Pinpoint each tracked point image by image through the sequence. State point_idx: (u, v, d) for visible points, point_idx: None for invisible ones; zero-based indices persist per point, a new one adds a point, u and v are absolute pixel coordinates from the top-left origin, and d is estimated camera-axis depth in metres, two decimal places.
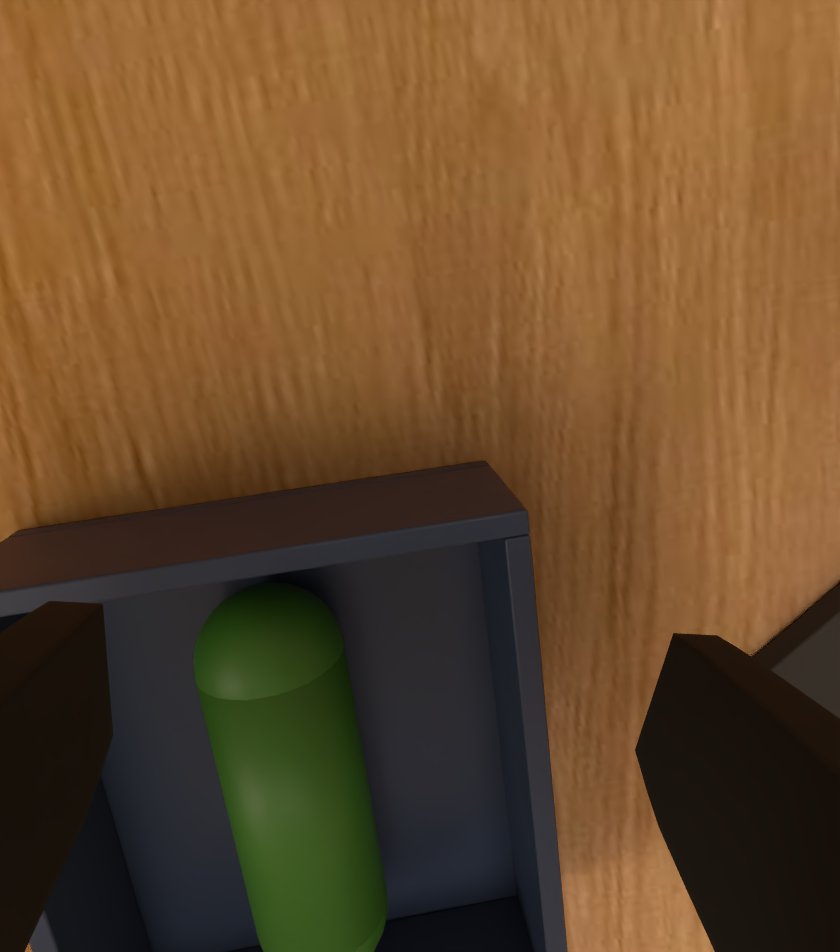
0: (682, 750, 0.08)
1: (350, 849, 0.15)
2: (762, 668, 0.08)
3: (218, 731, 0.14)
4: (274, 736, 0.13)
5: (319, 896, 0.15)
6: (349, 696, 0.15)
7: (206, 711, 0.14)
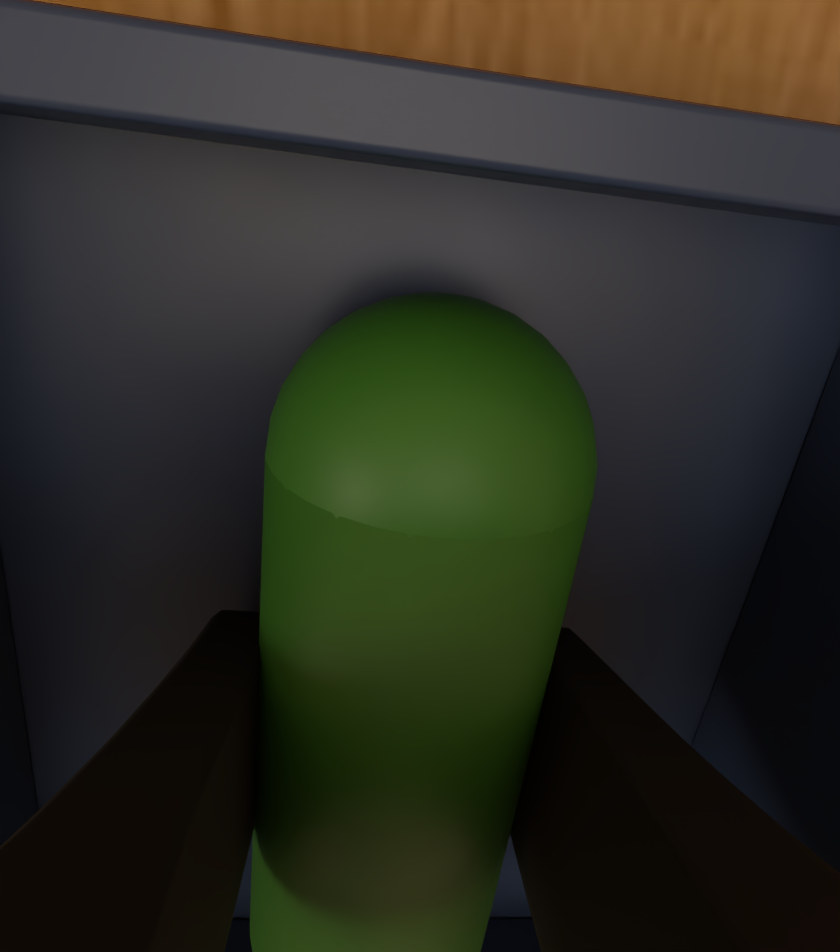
0: None
1: (488, 865, 0.07)
2: (596, 661, 0.08)
3: (307, 591, 0.06)
4: (447, 631, 0.06)
5: (413, 941, 0.07)
6: None
7: (286, 540, 0.06)
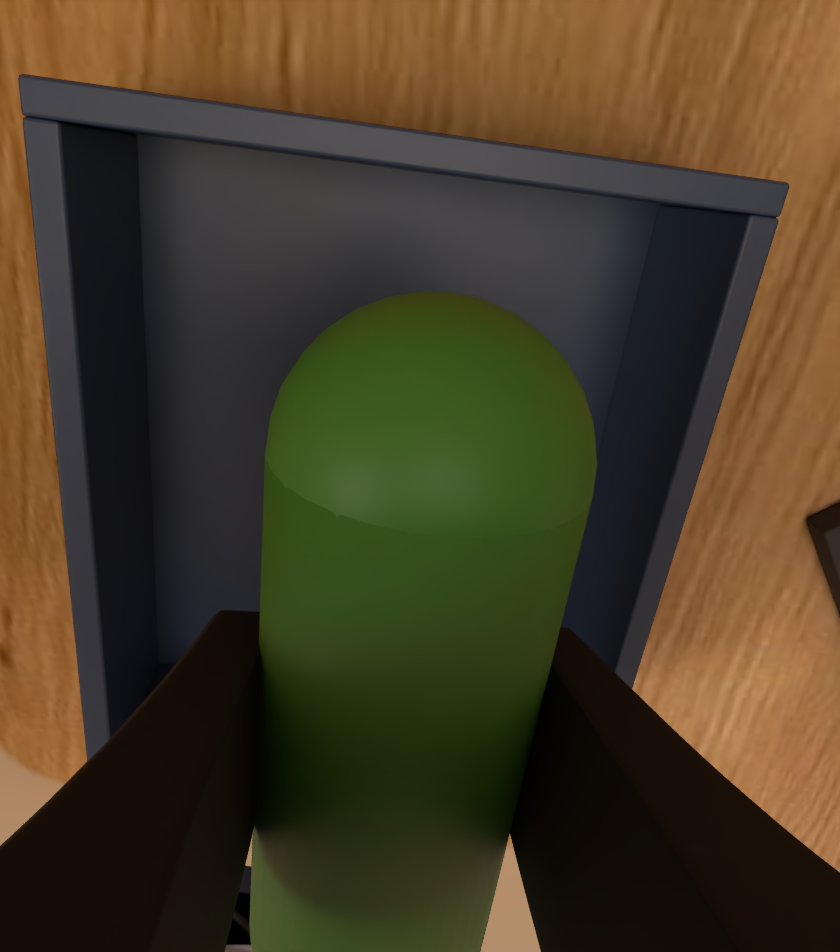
0: None
1: (488, 863, 0.07)
2: (597, 661, 0.08)
3: (307, 589, 0.06)
4: (447, 630, 0.06)
5: (413, 939, 0.07)
6: None
7: (286, 539, 0.06)
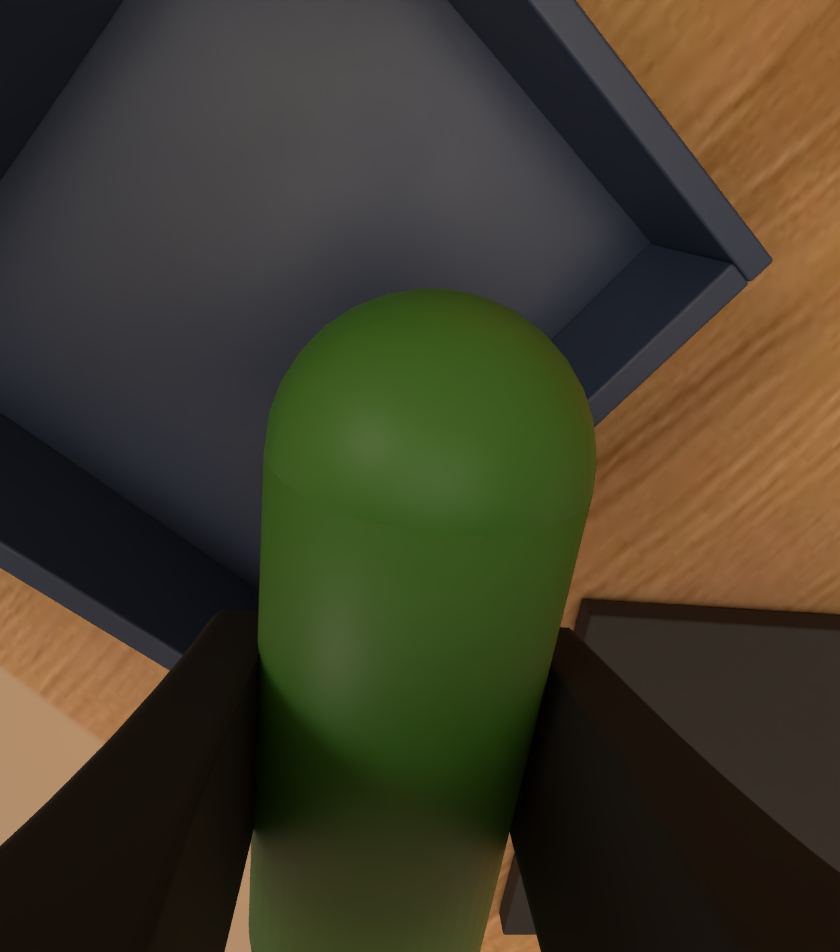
0: None
1: (487, 862, 0.07)
2: (596, 661, 0.08)
3: (305, 587, 0.06)
4: (446, 628, 0.06)
5: (412, 939, 0.07)
6: None
7: (284, 536, 0.06)
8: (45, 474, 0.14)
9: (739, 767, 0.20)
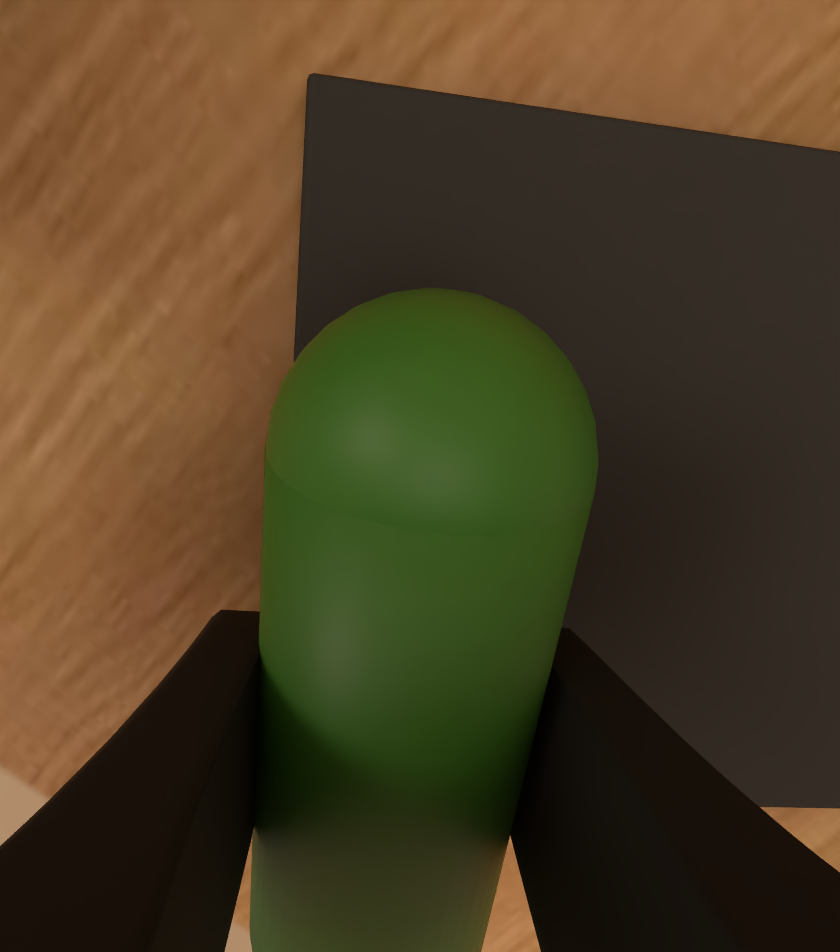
0: None
1: (489, 863, 0.07)
2: (597, 662, 0.08)
3: (307, 587, 0.06)
4: (449, 628, 0.06)
5: (413, 939, 0.07)
6: None
7: (286, 537, 0.06)
8: None
9: (641, 471, 0.11)
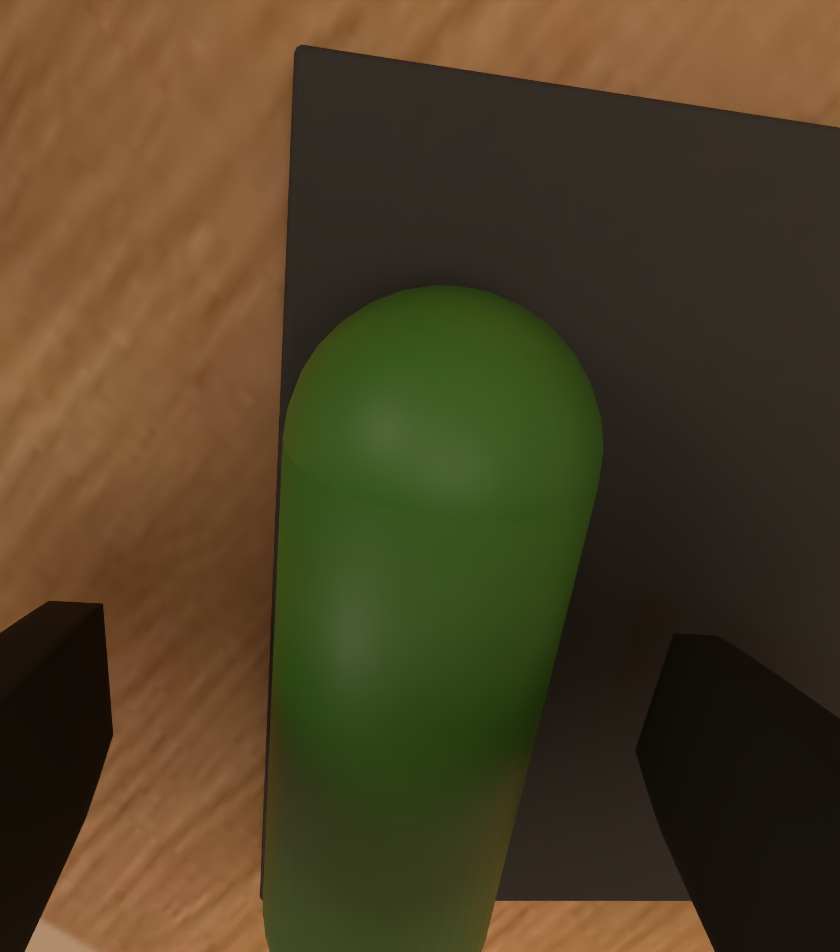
0: (682, 750, 0.08)
1: (502, 834, 0.08)
2: (761, 669, 0.08)
3: (335, 577, 0.06)
4: (474, 610, 0.06)
5: (434, 912, 0.08)
6: None
7: (312, 529, 0.06)
8: None
9: (701, 532, 0.10)
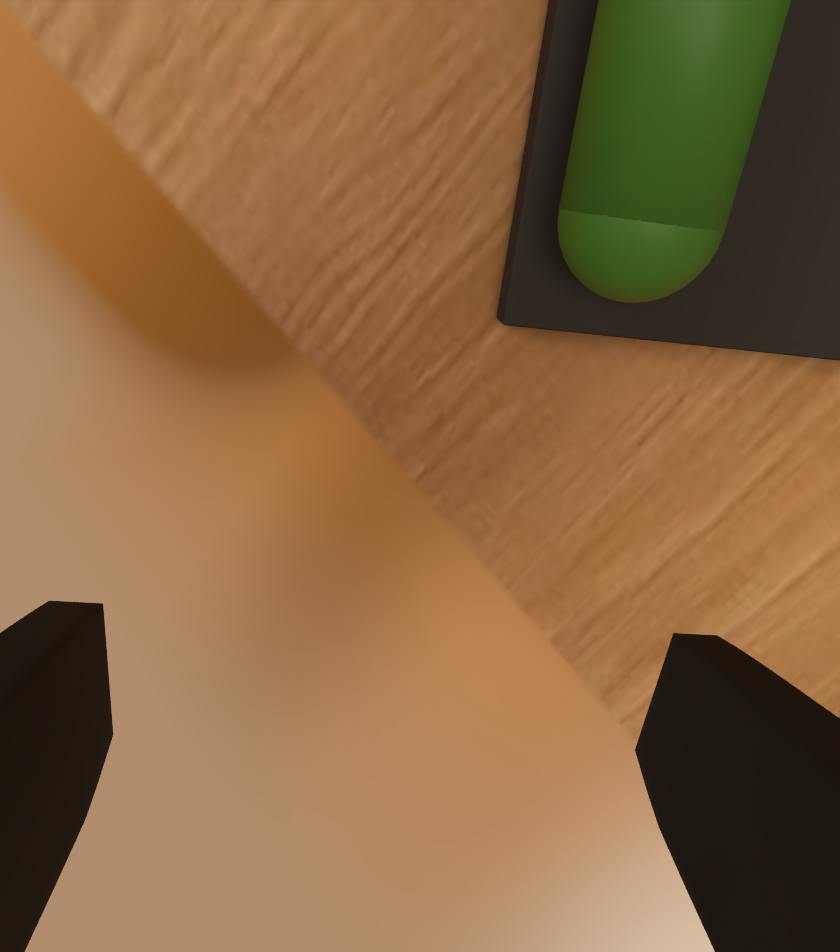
0: (682, 750, 0.08)
1: (768, 77, 0.12)
2: (762, 668, 0.08)
3: None
4: None
5: (734, 114, 0.11)
6: None
7: None
8: None
9: None
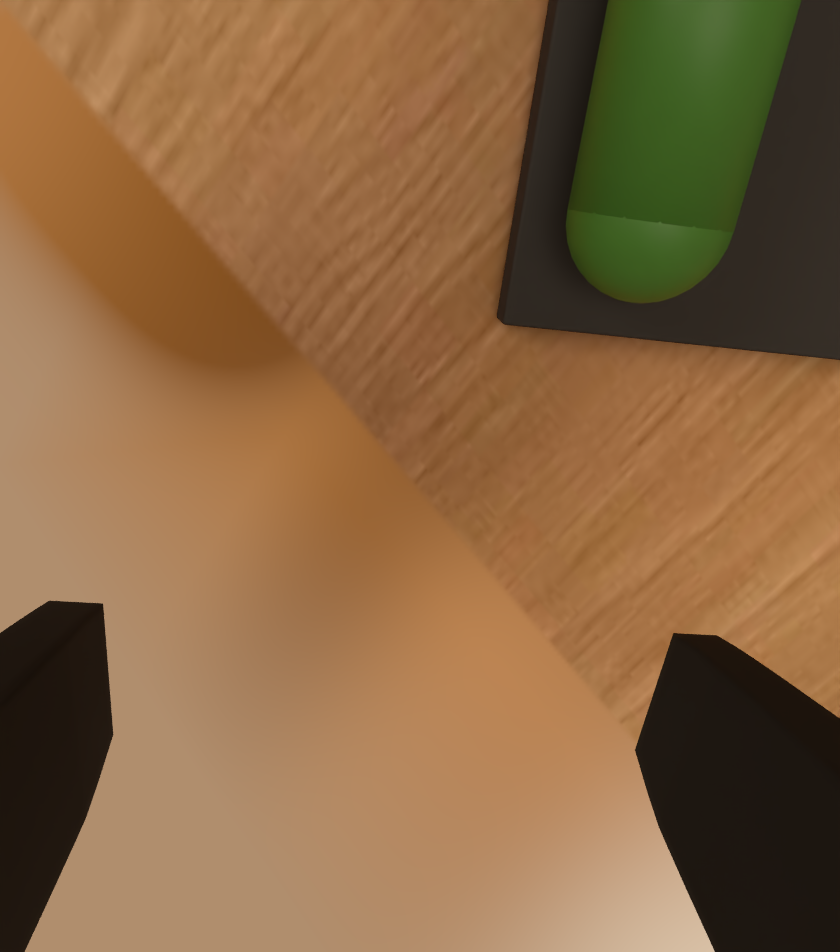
0: (682, 750, 0.08)
1: None
2: (762, 669, 0.08)
3: None
4: None
5: (750, 117, 0.12)
6: None
7: None
8: None
9: None
